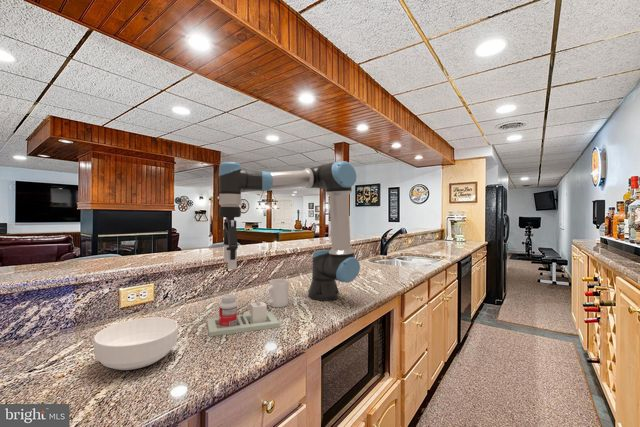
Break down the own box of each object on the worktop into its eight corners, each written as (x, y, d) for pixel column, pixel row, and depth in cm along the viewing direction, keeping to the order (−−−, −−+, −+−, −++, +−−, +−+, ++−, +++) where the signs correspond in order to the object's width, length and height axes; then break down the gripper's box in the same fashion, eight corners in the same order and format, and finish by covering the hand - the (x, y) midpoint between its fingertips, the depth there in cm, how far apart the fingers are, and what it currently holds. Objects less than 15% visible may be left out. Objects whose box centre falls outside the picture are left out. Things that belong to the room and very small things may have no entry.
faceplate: (270, 315, 120) (270, 309, 119) (279, 327, 108) (279, 321, 108) (207, 322, 110) (207, 317, 110) (209, 336, 98) (209, 330, 98)
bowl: (82, 387, 69) (82, 351, 69) (104, 350, 87) (105, 321, 87) (175, 371, 77) (176, 339, 77) (178, 340, 95) (179, 314, 95)
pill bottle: (222, 323, 110) (223, 293, 110) (238, 323, 110) (239, 294, 110) (216, 330, 104) (217, 298, 103) (233, 330, 103) (234, 299, 103)
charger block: (263, 319, 114) (263, 301, 114) (266, 324, 110) (266, 304, 110) (249, 321, 112) (250, 302, 112) (252, 326, 108) (253, 306, 108)
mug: (258, 306, 130) (259, 281, 130) (279, 300, 139) (280, 277, 139) (271, 311, 124) (271, 285, 124) (292, 304, 133) (292, 281, 133)
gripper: (216, 206, 116) (216, 260, 116) (222, 206, 93) (222, 273, 94) (235, 206, 119) (235, 259, 119) (246, 206, 96) (246, 271, 97)
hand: (229, 265), depth 107 cm, fingers open, 13 cm apart
